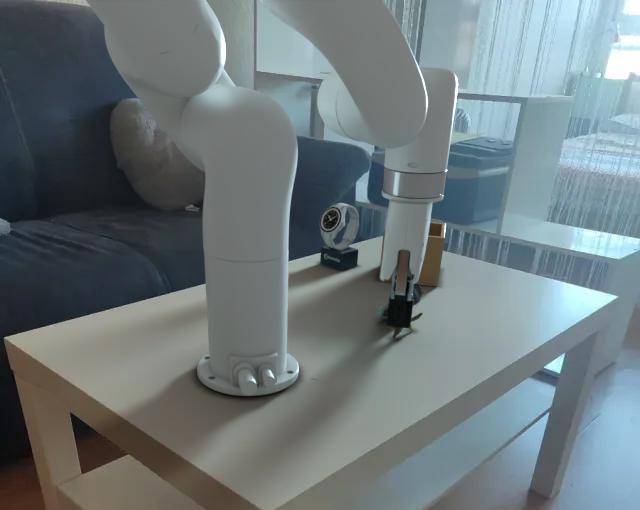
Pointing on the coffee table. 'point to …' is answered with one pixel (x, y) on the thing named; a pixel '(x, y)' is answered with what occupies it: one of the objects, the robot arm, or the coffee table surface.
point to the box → (429, 255)
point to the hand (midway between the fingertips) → (398, 324)
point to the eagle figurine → (417, 295)
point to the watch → (340, 252)
